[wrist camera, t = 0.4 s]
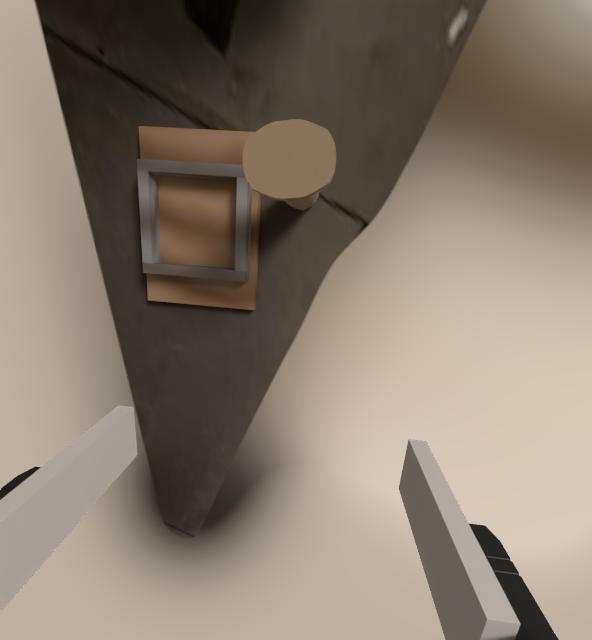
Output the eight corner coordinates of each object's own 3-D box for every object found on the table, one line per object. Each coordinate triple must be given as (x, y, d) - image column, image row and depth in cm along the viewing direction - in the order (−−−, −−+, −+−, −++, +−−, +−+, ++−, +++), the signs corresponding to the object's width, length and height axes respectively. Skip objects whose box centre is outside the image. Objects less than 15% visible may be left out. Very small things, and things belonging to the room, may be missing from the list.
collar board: (144, 130, 34) (127, 118, 31) (263, 136, 33) (257, 125, 30) (153, 298, 39) (138, 303, 36) (256, 308, 38) (250, 313, 35)
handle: (274, 175, 34) (239, 124, 20) (329, 171, 34) (335, 115, 19) (277, 219, 35) (246, 201, 21) (330, 215, 35) (337, 194, 20)
